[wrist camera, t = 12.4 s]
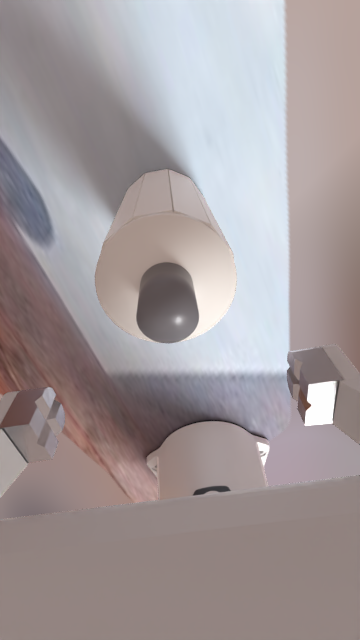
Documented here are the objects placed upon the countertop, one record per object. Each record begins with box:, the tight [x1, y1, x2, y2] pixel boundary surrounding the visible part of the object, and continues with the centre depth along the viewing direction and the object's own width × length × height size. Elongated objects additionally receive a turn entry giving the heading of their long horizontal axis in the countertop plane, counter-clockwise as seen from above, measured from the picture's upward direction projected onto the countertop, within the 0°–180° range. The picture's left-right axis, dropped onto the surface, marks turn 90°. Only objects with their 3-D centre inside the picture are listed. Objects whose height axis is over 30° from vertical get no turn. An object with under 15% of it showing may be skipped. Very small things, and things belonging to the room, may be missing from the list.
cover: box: [95, 169, 237, 343], centre depth 21 cm, size 7×7×17 cm
